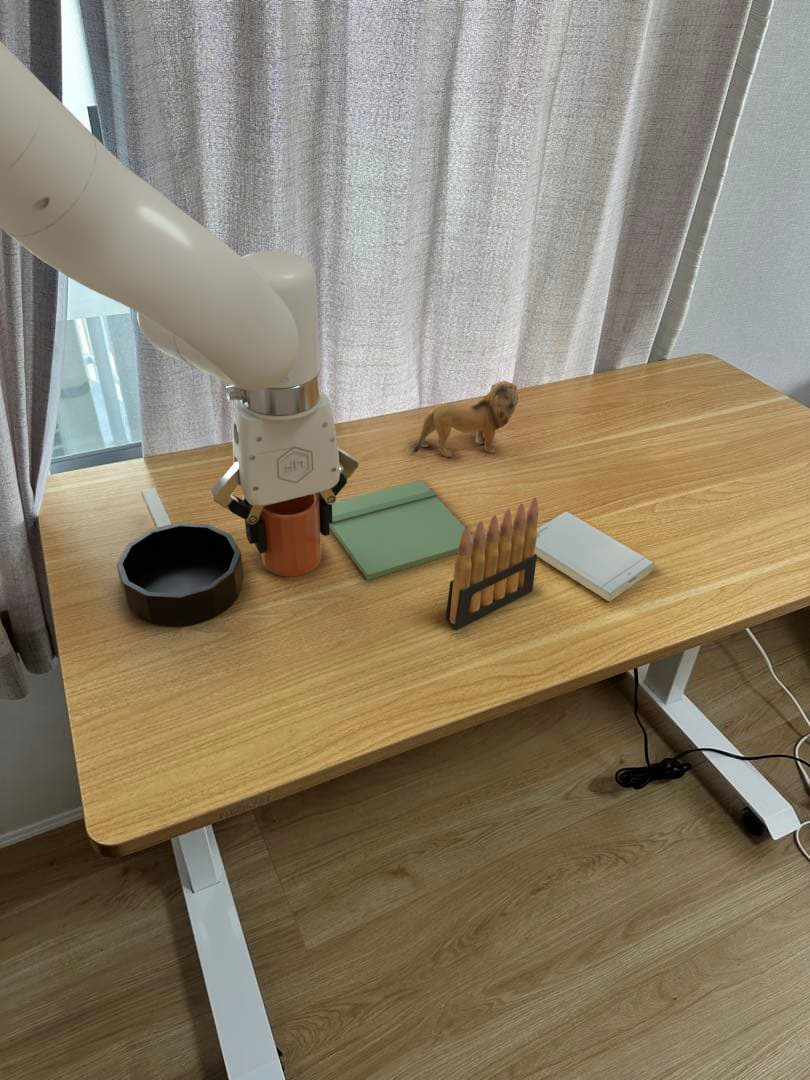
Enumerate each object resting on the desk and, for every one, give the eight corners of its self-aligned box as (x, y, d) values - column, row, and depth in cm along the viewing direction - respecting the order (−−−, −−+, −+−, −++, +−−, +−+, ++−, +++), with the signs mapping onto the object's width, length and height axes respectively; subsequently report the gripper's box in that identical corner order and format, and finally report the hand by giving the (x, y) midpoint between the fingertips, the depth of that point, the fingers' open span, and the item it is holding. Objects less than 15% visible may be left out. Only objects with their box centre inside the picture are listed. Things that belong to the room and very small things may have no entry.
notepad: (367, 580, 87) (367, 572, 86) (318, 511, 97) (317, 504, 96) (478, 547, 92) (478, 539, 92) (421, 485, 102) (421, 478, 101)
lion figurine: (502, 431, 114) (510, 372, 108) (519, 449, 110) (528, 390, 104) (405, 446, 109) (407, 386, 104) (419, 466, 106) (422, 405, 100)
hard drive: (522, 536, 92) (611, 591, 84) (567, 510, 96) (655, 560, 89) (520, 547, 93) (608, 603, 85) (565, 521, 97) (652, 571, 90)
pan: (139, 641, 79) (132, 610, 76) (100, 529, 93) (93, 500, 90) (257, 606, 83) (254, 576, 81) (203, 504, 97) (199, 476, 95)
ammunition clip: (456, 630, 81) (465, 536, 74) (444, 620, 82) (452, 526, 75) (532, 591, 87) (548, 499, 79) (520, 581, 88) (535, 490, 80)
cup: (274, 583, 86) (269, 523, 81) (254, 549, 91) (248, 490, 86) (330, 567, 89) (328, 507, 84) (308, 534, 93) (305, 476, 88)
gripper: (202, 424, 71) (223, 579, 82) (379, 388, 78) (377, 536, 89) (180, 388, 76) (202, 538, 87) (347, 357, 83) (349, 500, 94)
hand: (290, 536), depth 88 cm, fingers closed on cup, 6 cm apart
